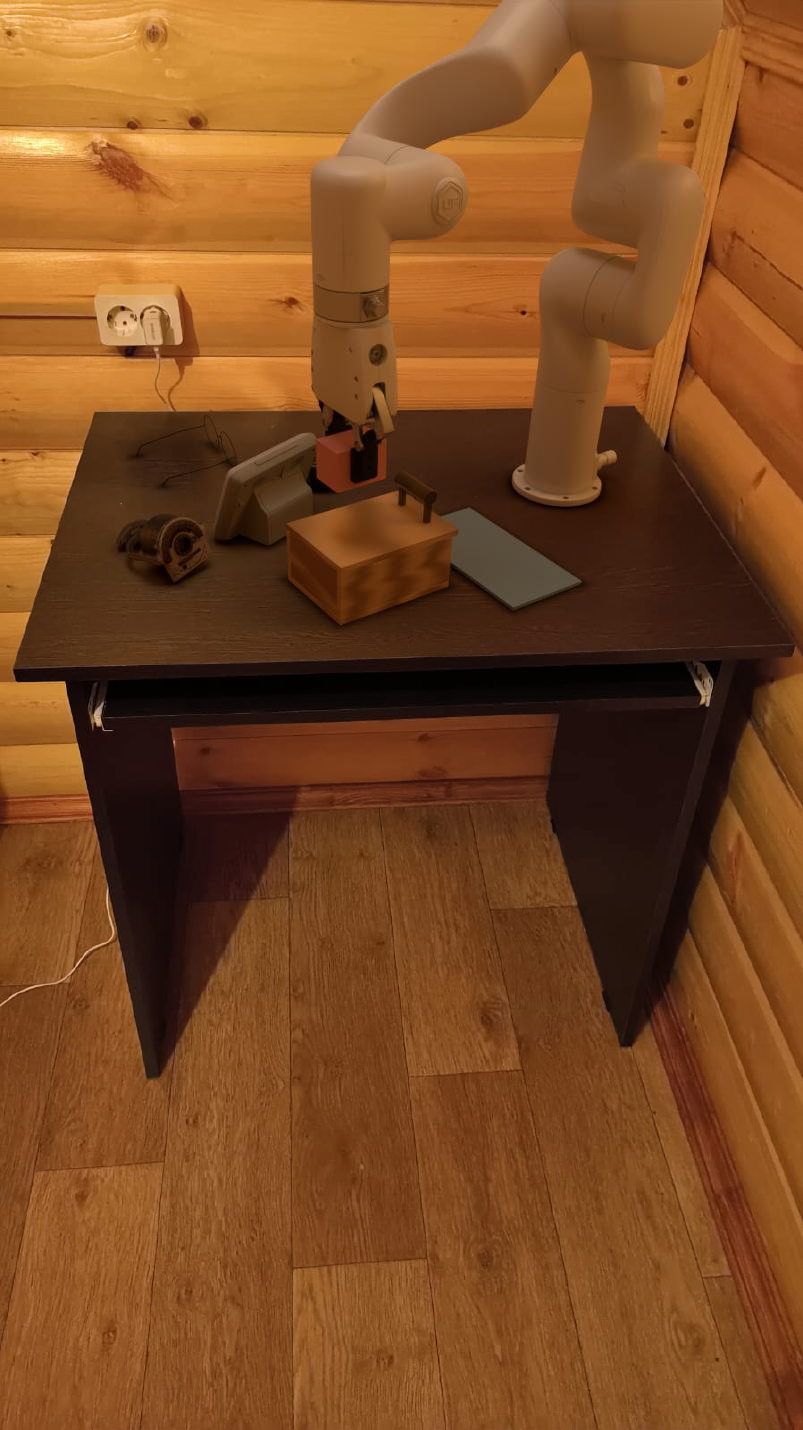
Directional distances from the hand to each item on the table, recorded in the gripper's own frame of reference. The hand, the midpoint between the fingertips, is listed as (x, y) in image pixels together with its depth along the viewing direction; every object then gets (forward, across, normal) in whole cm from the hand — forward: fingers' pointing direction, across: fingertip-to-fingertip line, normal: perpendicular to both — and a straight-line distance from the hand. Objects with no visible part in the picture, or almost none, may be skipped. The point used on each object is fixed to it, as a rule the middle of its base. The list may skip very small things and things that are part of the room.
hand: (351, 469), depth 112 cm
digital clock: (+16, +19, +1) cm, 25 cm away
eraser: (+1, 0, 0) cm, 1 cm away
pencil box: (+16, 0, -2) cm, 16 cm away
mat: (+16, -3, -19) cm, 25 cm away
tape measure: (+16, +26, -11) cm, 32 cm away
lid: (+9, 0, -3) cm, 9 cm away
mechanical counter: (+16, +18, +16) cm, 28 cm away
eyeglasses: (+16, +40, +2) cm, 43 cm away
